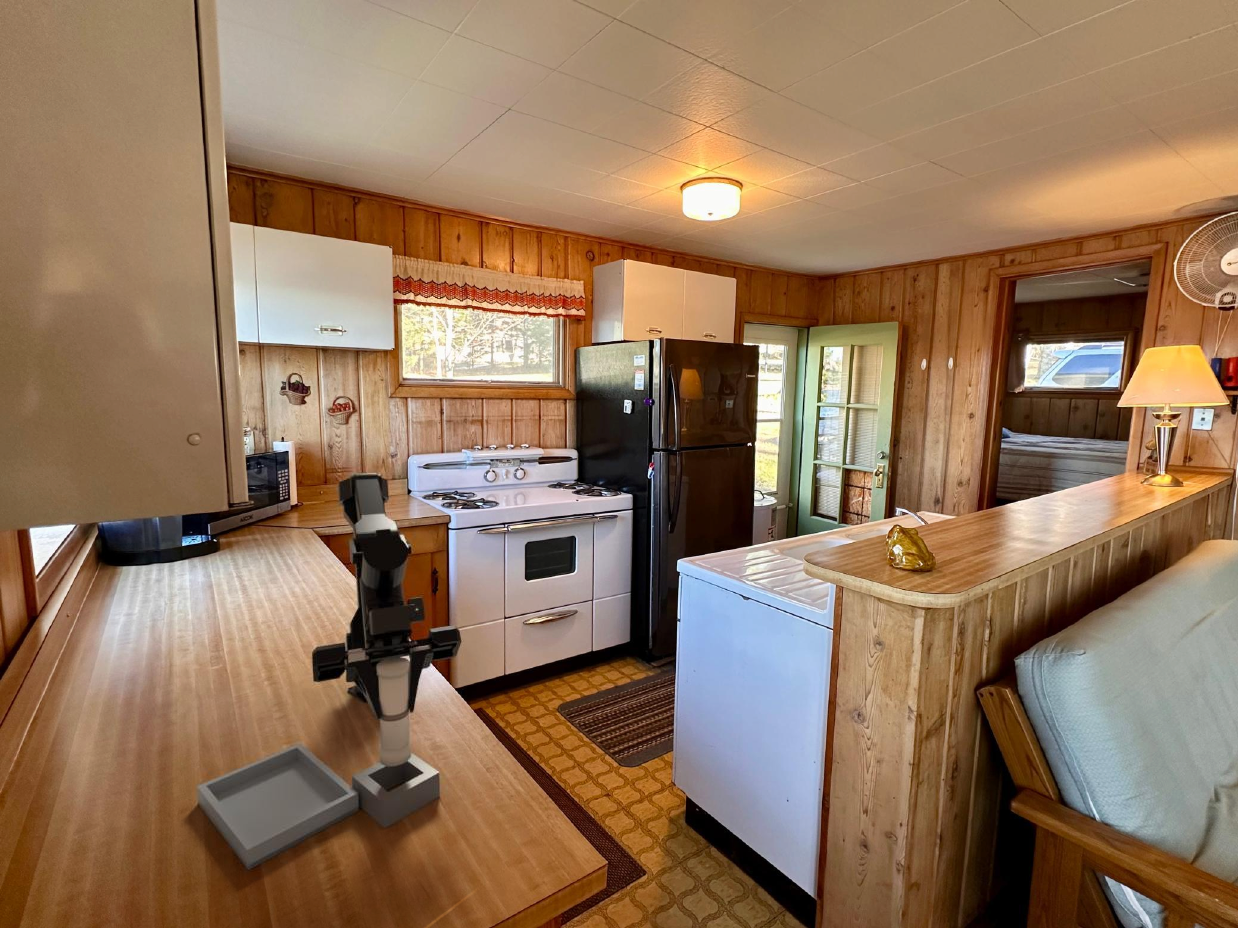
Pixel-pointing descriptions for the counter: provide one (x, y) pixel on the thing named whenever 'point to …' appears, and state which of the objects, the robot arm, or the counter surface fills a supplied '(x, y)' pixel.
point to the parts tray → (276, 803)
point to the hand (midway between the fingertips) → (395, 715)
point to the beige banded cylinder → (394, 711)
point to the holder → (396, 789)
